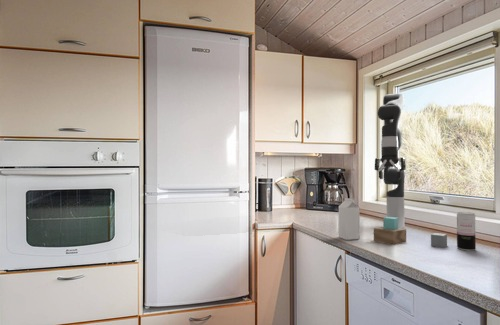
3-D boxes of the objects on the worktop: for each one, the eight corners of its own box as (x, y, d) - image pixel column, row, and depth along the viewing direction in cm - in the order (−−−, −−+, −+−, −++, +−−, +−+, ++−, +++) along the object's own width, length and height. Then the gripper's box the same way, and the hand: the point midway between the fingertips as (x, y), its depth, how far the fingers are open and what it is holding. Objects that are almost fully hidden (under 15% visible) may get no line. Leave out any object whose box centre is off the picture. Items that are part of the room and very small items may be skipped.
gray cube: (434, 244, 155) (434, 232, 155) (447, 245, 151) (447, 234, 151) (431, 246, 151) (430, 234, 151) (443, 247, 148) (443, 235, 148)
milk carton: (346, 240, 163) (346, 199, 163) (338, 237, 170) (338, 198, 170) (359, 239, 165) (359, 199, 165) (351, 236, 171) (351, 197, 172)
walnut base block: (386, 238, 167) (386, 226, 167) (406, 242, 159) (406, 229, 159) (373, 241, 162) (373, 228, 162) (393, 245, 153) (393, 231, 153)
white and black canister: (458, 246, 150) (458, 211, 150) (476, 248, 145) (476, 212, 146) (455, 249, 145) (455, 212, 145) (474, 251, 140) (474, 214, 141)
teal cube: (387, 227, 164) (387, 216, 164) (398, 228, 161) (398, 217, 161) (383, 228, 160) (383, 217, 160) (394, 230, 157) (394, 218, 157)
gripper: (407, 145, 169) (407, 179, 169) (378, 147, 179) (378, 178, 178) (401, 145, 163) (401, 179, 163) (372, 146, 173) (372, 179, 173)
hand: (389, 179), depth 171 cm, fingers open, 8 cm apart
